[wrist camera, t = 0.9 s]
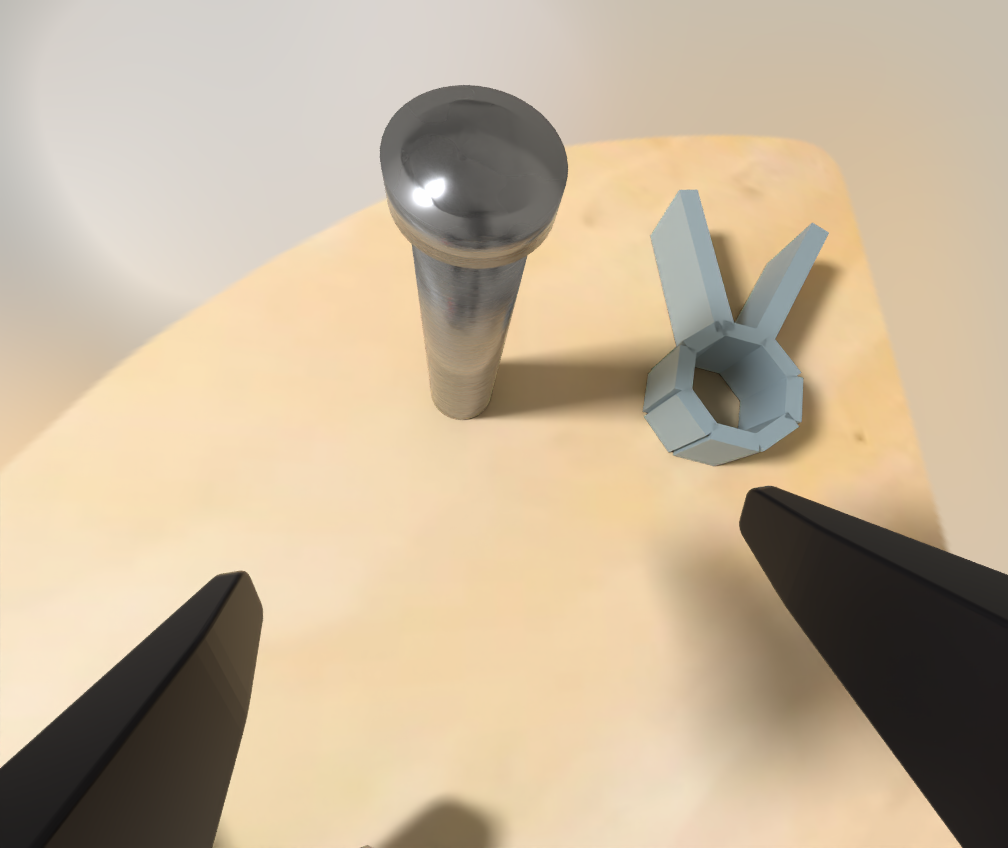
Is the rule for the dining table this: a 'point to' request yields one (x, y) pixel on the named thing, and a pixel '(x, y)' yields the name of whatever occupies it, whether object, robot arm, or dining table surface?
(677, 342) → the grey ring with prongs
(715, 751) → the dining table surface
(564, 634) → the dining table surface
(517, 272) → the hinge pin
